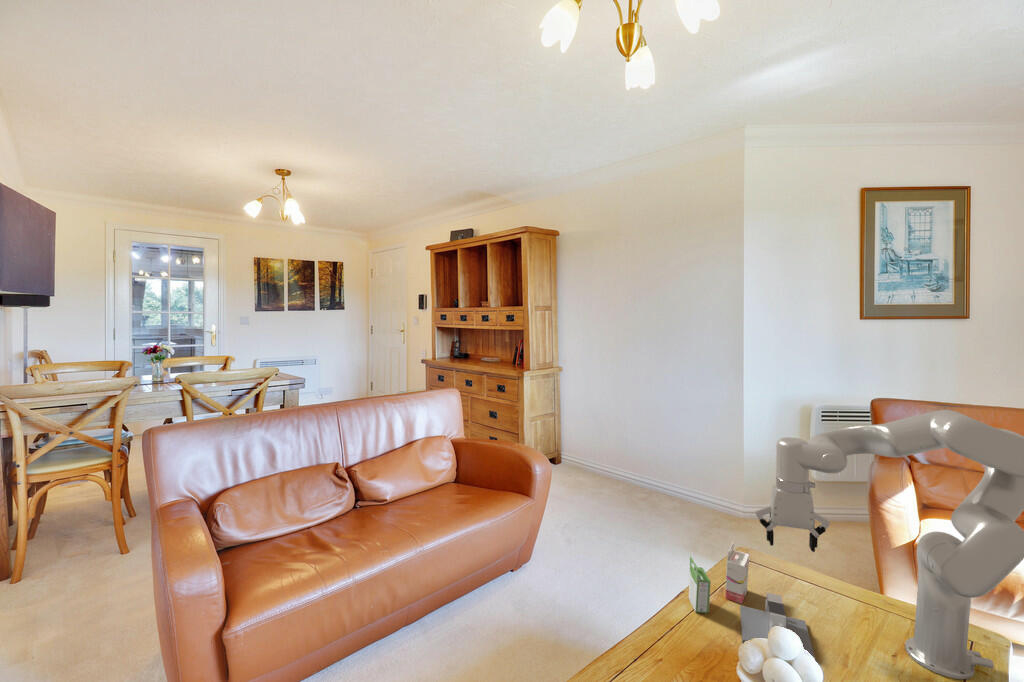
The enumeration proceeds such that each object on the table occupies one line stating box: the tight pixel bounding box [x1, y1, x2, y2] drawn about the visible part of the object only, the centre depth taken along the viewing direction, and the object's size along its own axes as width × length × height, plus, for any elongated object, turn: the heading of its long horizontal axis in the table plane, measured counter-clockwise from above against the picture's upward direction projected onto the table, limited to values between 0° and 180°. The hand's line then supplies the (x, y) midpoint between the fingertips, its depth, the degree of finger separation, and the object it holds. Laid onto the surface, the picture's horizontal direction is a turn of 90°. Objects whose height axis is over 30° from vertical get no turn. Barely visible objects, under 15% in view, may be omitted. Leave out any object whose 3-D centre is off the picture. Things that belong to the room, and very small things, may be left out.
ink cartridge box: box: [724, 541, 750, 605], centre depth 140 cm, size 9×5×15 cm, turn 144°
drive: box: [765, 592, 787, 633], centre depth 124 cm, size 4×10×7 cm, turn 156°
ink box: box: [688, 555, 711, 614], centre depth 135 cm, size 7×4×13 cm, turn 175°
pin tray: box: [739, 604, 816, 659], centre depth 124 cm, size 16×15×5 cm
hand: (791, 546), depth 126 cm, fingers open, 9 cm apart
